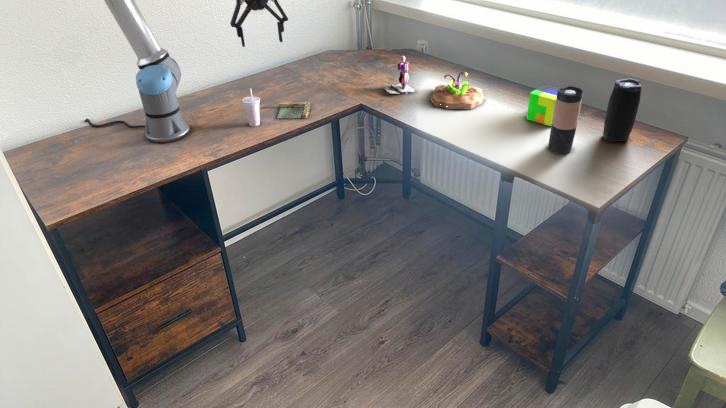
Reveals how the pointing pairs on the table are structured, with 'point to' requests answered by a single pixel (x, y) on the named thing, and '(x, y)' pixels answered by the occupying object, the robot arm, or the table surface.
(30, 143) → the table surface
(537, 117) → the puzzle toy
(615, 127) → the portable speaker
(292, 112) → the corner guide
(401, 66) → the statue
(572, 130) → the travel mug
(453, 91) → the plant
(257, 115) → the smoothie
